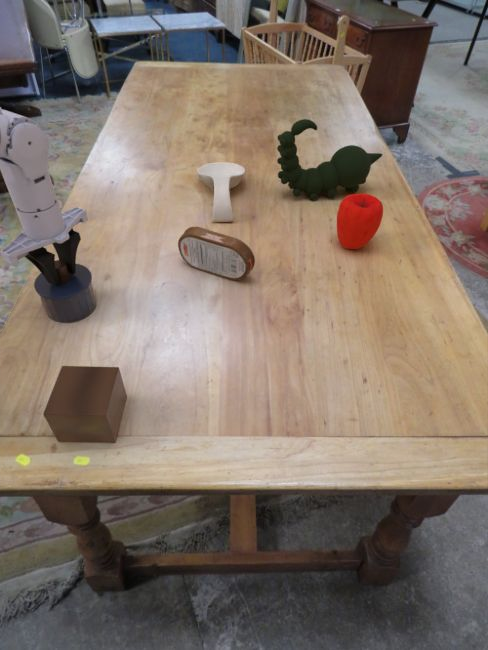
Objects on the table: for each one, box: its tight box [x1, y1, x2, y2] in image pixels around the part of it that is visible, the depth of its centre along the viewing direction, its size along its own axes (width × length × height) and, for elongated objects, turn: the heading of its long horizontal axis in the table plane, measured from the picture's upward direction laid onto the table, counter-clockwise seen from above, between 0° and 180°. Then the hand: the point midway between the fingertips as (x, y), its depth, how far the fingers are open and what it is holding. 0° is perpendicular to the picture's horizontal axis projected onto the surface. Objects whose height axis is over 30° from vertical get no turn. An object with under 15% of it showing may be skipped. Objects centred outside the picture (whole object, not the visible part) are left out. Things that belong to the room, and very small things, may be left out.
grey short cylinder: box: [38, 281, 98, 324], centre depth 74 cm, size 8×8×5 cm
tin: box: [177, 226, 256, 281], centre depth 80 cm, size 15×3×8 cm, turn 65°
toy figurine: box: [276, 118, 383, 201], centre depth 100 cm, size 9×19×25 cm
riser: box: [42, 365, 128, 444], centre depth 58 cm, size 8×8×6 cm
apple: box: [336, 192, 384, 250], centre depth 87 cm, size 9×9×11 cm
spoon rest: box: [196, 161, 246, 223], centre depth 101 cm, size 24×12×7 cm, turn 4°
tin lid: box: [33, 259, 93, 300], centre depth 71 cm, size 9×9×4 cm
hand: (62, 277), depth 71 cm, fingers open, 3 cm apart
